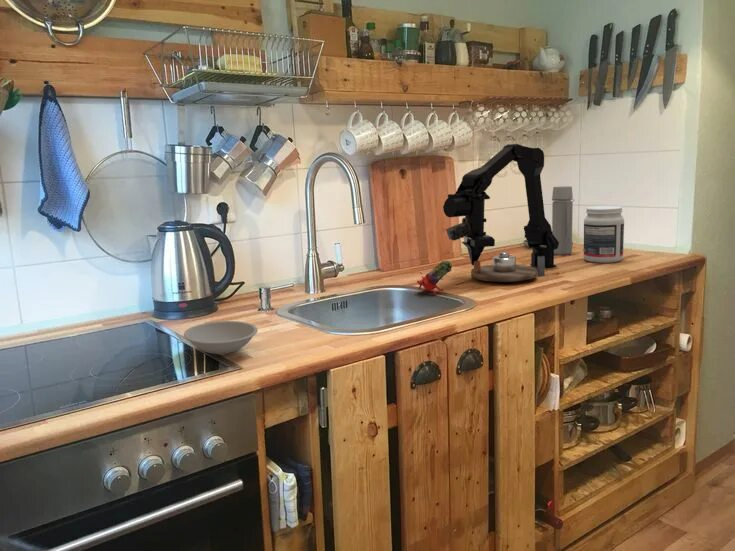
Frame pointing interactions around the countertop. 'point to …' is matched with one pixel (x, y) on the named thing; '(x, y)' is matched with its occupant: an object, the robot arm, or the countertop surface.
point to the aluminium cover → (504, 263)
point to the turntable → (502, 273)
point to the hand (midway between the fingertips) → (473, 265)
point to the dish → (220, 336)
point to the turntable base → (503, 282)
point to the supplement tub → (603, 234)
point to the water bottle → (562, 218)
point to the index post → (541, 265)
